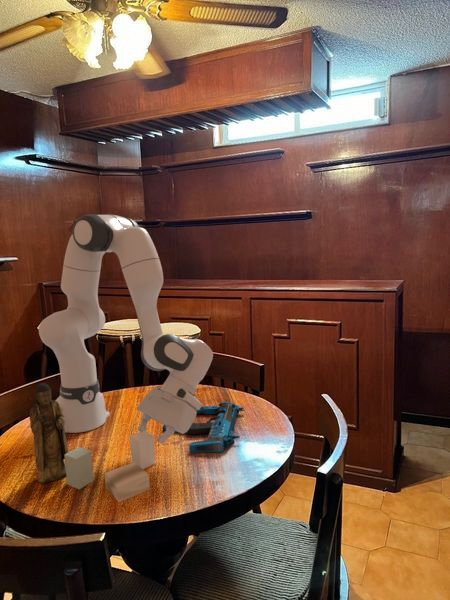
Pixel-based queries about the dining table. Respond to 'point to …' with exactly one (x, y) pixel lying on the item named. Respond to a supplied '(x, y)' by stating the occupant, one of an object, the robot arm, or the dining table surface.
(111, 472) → the birch slab
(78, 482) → the sage pillar
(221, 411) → the submachine gun
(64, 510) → the dining table surface
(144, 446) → the cream pillar
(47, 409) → the statue
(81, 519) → the dining table surface
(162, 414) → the robot arm
